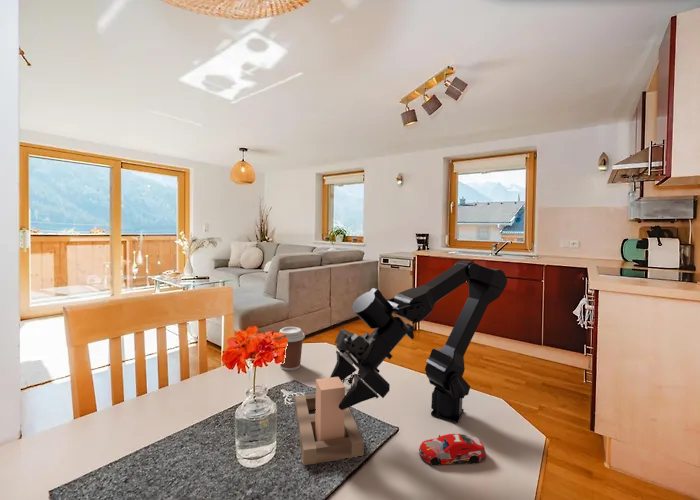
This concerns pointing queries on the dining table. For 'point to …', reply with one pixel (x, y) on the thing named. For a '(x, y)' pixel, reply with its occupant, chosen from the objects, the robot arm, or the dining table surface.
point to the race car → (452, 450)
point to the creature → (350, 380)
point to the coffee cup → (293, 347)
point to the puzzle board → (328, 448)
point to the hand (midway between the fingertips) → (333, 397)
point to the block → (329, 409)
